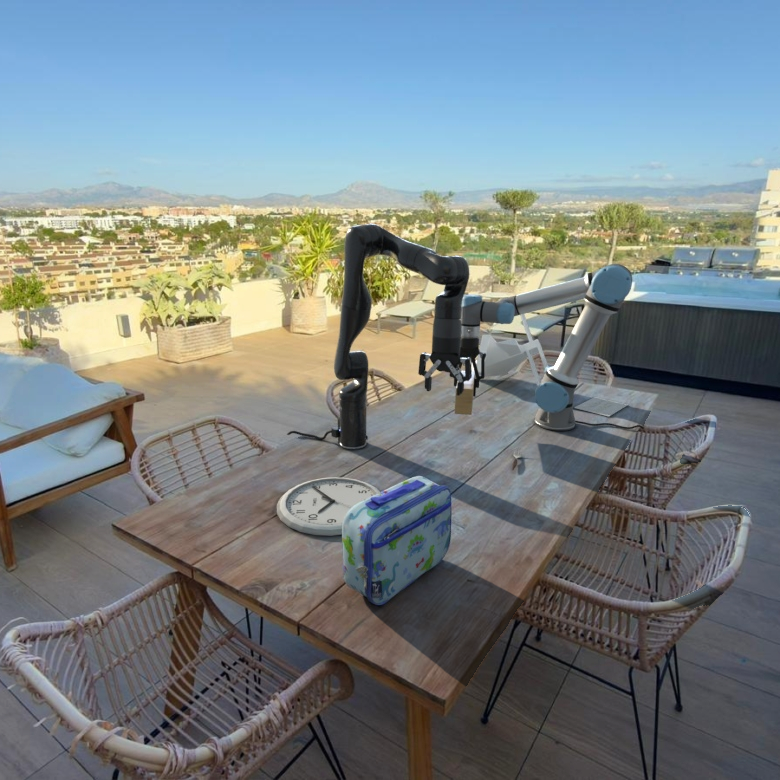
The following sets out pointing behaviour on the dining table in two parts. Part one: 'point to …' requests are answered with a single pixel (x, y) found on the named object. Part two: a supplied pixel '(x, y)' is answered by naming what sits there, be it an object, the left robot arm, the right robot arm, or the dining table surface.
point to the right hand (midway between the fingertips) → (465, 394)
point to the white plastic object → (509, 354)
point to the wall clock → (322, 504)
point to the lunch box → (395, 537)
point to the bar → (465, 397)
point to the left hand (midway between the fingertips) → (443, 392)
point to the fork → (516, 457)
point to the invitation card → (601, 406)
